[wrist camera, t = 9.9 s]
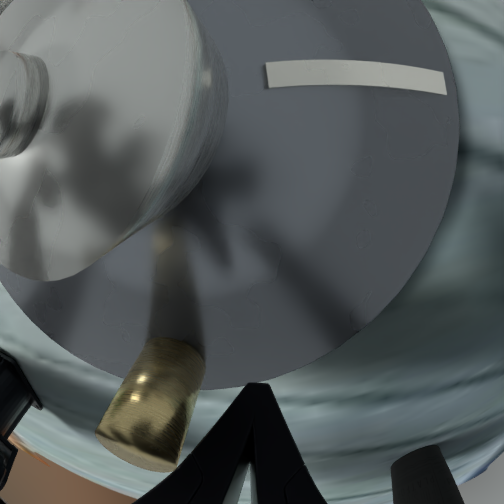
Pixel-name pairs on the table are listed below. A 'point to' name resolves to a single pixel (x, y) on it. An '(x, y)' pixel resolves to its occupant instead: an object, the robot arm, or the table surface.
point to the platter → (270, 216)
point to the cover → (100, 125)
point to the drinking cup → (424, 479)
